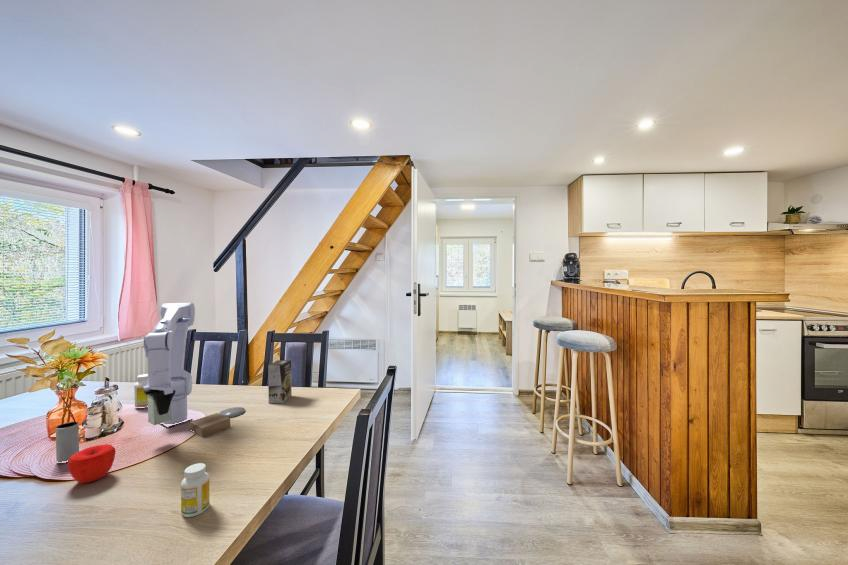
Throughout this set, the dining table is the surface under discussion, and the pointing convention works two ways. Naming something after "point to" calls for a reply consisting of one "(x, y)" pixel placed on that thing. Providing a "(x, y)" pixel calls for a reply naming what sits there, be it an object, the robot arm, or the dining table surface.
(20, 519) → the dining table surface
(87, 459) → the apple
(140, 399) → the supplement bottle
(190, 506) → the supplement bottle
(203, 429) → the tan flat square block
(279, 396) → the coffee box
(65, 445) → the grey tin can
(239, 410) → the slate coaster
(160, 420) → the tea tin
